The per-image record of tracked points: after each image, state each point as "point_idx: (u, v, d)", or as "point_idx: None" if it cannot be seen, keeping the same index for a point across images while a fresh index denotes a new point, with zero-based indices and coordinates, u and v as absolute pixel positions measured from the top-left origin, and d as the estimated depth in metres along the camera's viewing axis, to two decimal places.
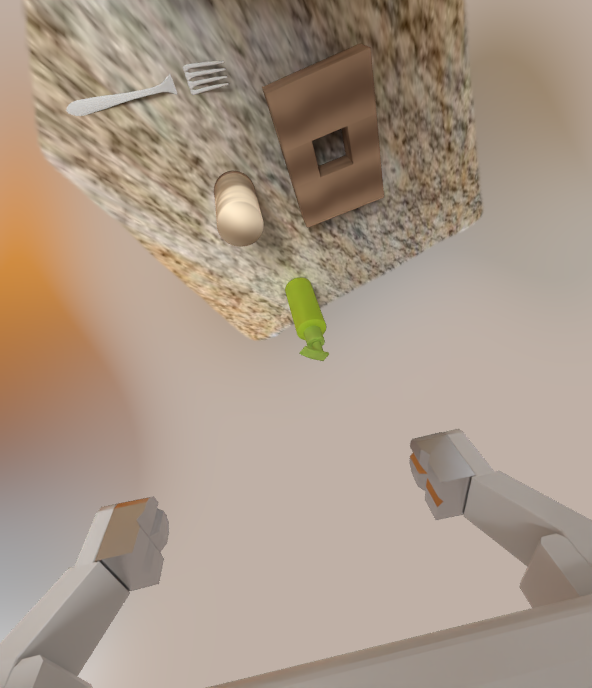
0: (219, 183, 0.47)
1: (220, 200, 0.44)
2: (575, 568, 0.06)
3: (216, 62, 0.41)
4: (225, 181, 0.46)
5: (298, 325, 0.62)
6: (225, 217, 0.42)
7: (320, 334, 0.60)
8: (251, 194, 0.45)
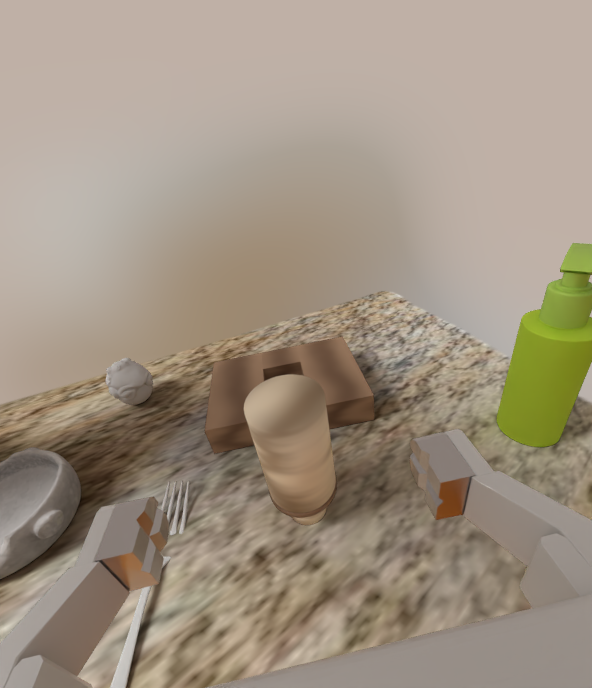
0: (270, 490, 0.28)
1: (258, 450, 0.25)
2: (575, 568, 0.06)
3: (166, 490, 0.35)
4: None
5: (556, 343, 0.27)
6: (261, 417, 0.23)
7: (546, 292, 0.29)
8: None
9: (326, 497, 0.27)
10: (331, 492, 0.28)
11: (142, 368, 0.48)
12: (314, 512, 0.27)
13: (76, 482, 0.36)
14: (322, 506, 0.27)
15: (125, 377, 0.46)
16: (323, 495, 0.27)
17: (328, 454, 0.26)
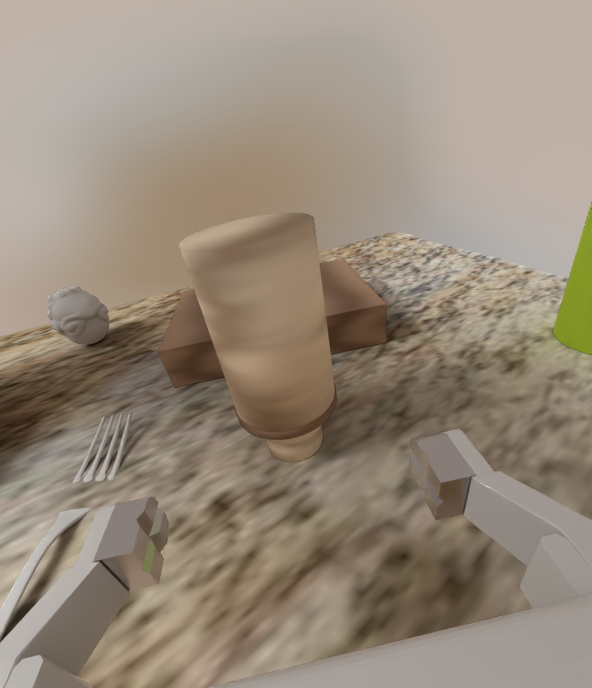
0: (233, 399, 0.18)
1: (206, 316, 0.15)
2: (575, 568, 0.06)
3: (99, 426, 0.25)
4: None
5: None
6: (205, 244, 0.14)
7: None
8: None
9: (320, 408, 0.18)
10: (328, 402, 0.18)
11: (94, 298, 0.39)
12: (301, 430, 0.18)
13: None
14: (314, 422, 0.18)
15: (69, 304, 0.37)
16: (315, 402, 0.17)
17: (322, 330, 0.16)
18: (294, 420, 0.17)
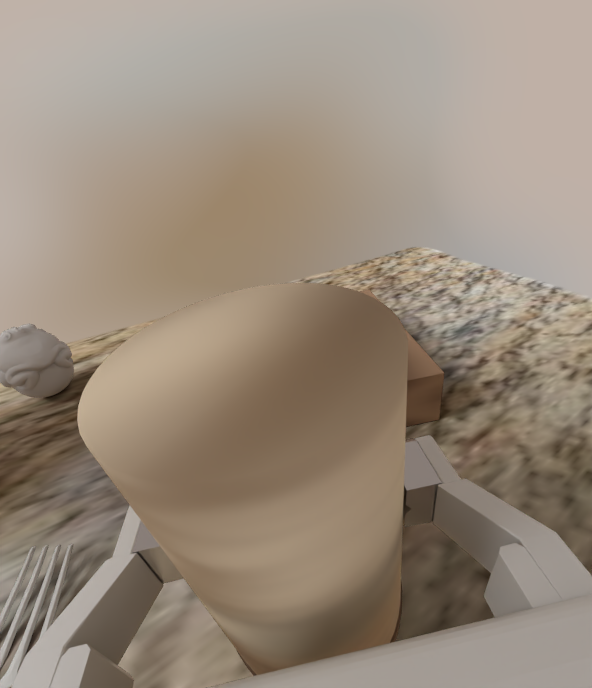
0: None
1: None
2: (530, 579, 0.06)
3: (23, 567, 0.17)
4: None
5: None
6: (137, 407, 0.05)
7: None
8: None
9: None
10: (395, 624, 0.10)
11: (52, 339, 0.30)
12: None
13: None
14: None
15: (17, 351, 0.28)
16: None
17: (400, 533, 0.08)
18: None
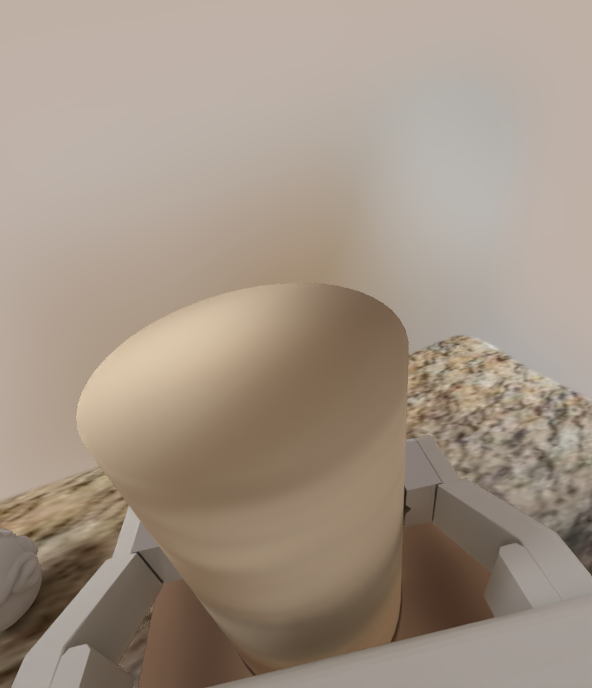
0: None
1: None
2: (531, 579, 0.06)
3: None
4: None
5: None
6: (136, 408, 0.05)
7: None
8: None
9: None
10: (395, 625, 0.10)
11: (9, 554, 0.22)
12: None
13: None
14: None
15: None
16: None
17: (400, 533, 0.08)
18: None
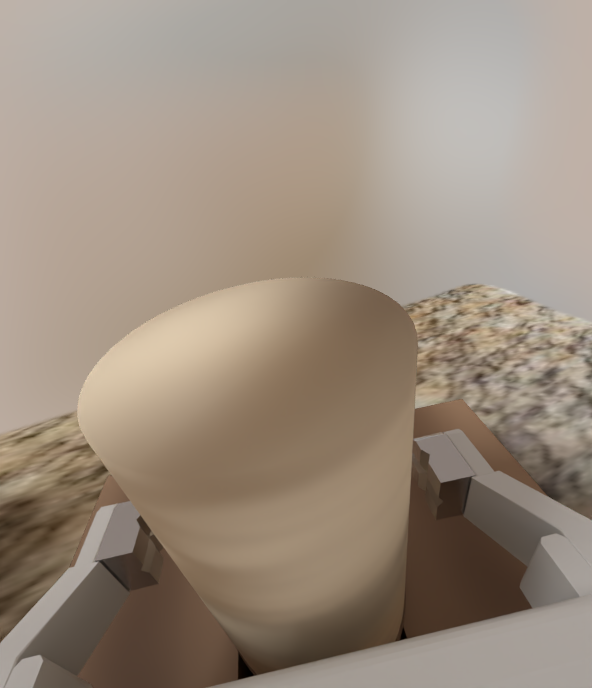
0: None
1: None
2: (575, 568, 0.06)
3: None
4: None
5: None
6: (139, 401, 0.05)
7: None
8: None
9: None
10: (399, 625, 0.10)
11: None
12: None
13: None
14: None
15: None
16: None
17: (406, 532, 0.08)
18: None
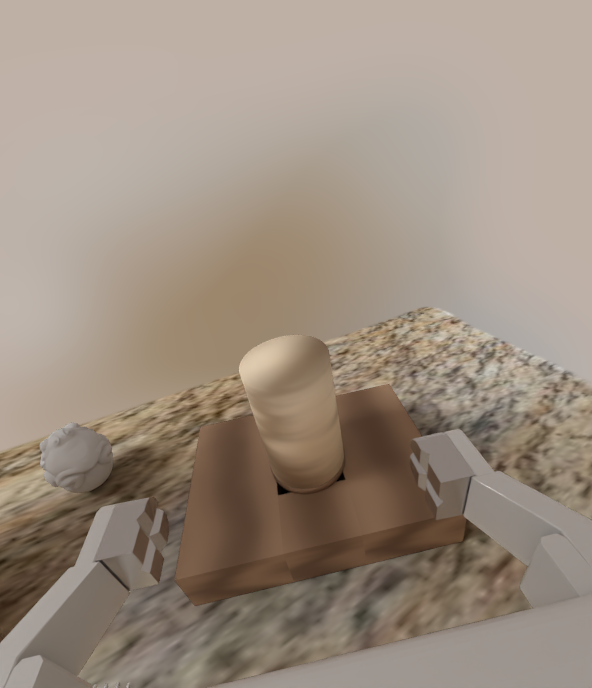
0: (271, 464, 0.25)
1: (256, 416, 0.22)
2: (575, 568, 0.06)
3: None
4: None
5: None
6: (258, 376, 0.21)
7: None
8: None
9: (333, 471, 0.25)
10: (339, 466, 0.25)
11: (95, 438, 0.33)
12: (320, 488, 0.25)
13: None
14: (329, 481, 0.25)
15: (66, 456, 0.31)
16: (330, 468, 0.24)
17: (334, 421, 0.23)
18: (315, 481, 0.24)
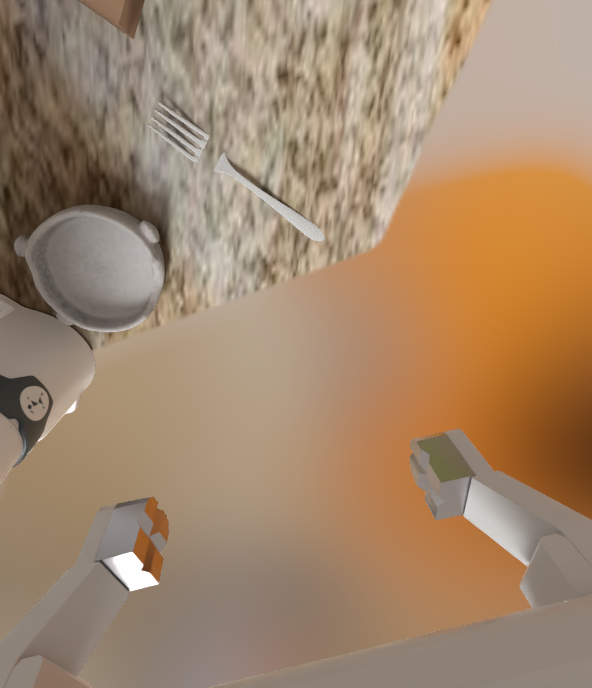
0: None
1: None
2: (575, 568, 0.06)
3: (156, 131, 0.32)
4: None
5: None
6: None
7: None
8: None
9: None
10: None
11: None
12: None
13: (100, 206, 0.34)
14: None
15: None
16: None
17: None
18: None
